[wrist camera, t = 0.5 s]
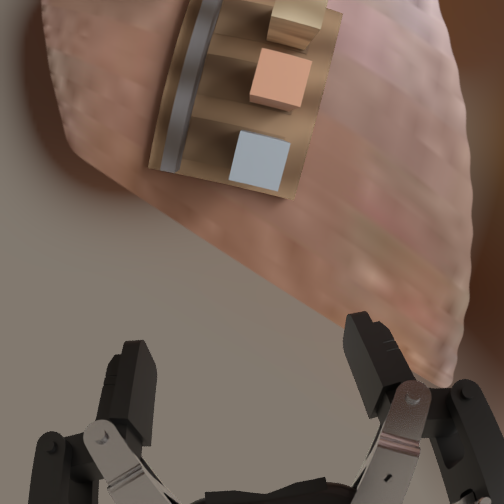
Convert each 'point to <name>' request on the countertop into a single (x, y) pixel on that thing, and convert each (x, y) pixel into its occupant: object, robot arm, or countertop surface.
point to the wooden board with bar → (233, 92)
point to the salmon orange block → (280, 80)
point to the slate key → (259, 160)
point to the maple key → (296, 22)
